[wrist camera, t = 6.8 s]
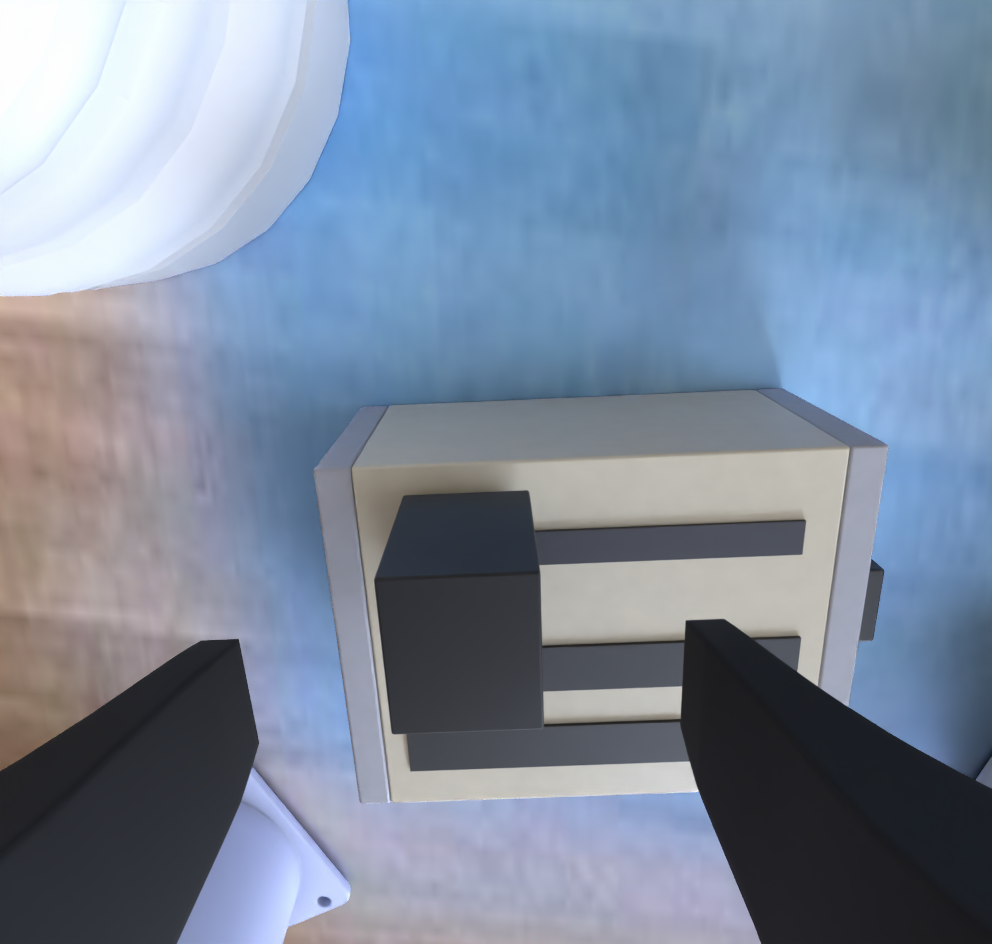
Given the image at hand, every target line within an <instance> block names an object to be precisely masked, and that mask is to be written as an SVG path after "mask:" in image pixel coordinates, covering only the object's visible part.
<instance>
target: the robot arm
mask: <svg viewBox="0 0 992 944" xmlns="http://www.w3.org/2000/svg"><path fill="white" fill-rule="evenodd" d="M680 727H681V731H682V735H683V739H684V742H685V746H686V750H687V754H688V757H689V761H690V764H691V768H692V771H693V775H694V778H695V782H696V785H697V788H698V790H699V793H700V795H701V798H702V800H703V803H704V805H705V808H706V810H707V813H708V815H709V817H710V820H711V822H712V825H713V827H714V830H715V832H716V834H717V837H718V839H719V842H720V844H721V846H722V849H723V851H724V854H725V856H726V858H727V861H728V863H729V866H730V868H731V870H732V873H733V875H734V878H735V880H736V882H737V885H738V887H739V890H740V892H741V894H742V897H743V899H744V902H745V904H746V906H747V909H748V911H749V914H750V916H751V918H752V921H753V923H754V926H755V928H756V931H757V933H758V936H759V939H760V941H761V944H992V788H990V787H988V786H986V785H984V784H982V783H980V782H978V781H976V780H974V779H972V778H970V777H968V776H966V775H964V774H962V773H960V772H958V771H956V770H955V769H953V768H951V767H949V766H947V765H945V764H944V763H942V762H940V761H938V760H936V759H934V758H932V757H931V756H929V755H927V754H925V753H923V752H921V751H920V750H918V749H916V748H914V747H912V746H911V745H909V744H907V743H905V742H904V741H902V740H900V739H899V738H897V737H895V736H893V735H892V734H890V733H888V732H887V731H885V730H884V729H882V728H880V727H879V726H877V725H876V724H874V723H873V722H871V721H869V720H868V719H866V718H865V717H863V716H862V715H860V714H858V713H857V712H855V711H854V710H852V709H850V708H849V707H847V706H846V705H844V704H843V703H841V702H840V701H838V700H837V699H835V698H834V697H832V696H831V695H829V694H828V693H826V692H825V691H824V690H822V689H821V688H819V687H818V686H816V685H815V684H814V683H812V682H811V681H809V680H808V679H807V678H805V677H804V676H802V675H801V674H799V673H798V672H797V671H795V670H794V669H793V668H791V667H790V666H788V665H787V664H786V663H784V662H783V661H782V660H780V659H779V658H778V657H776V656H775V655H774V654H772V653H771V652H769V651H768V650H767V649H765V648H764V647H763V646H761V645H760V644H759V643H757V642H756V641H755V640H753V639H752V638H751V637H749V636H748V635H747V634H745V633H744V632H742V631H741V630H740V629H738V628H737V627H736V626H734V625H733V624H731V623H730V622H728V621H727V620H725V619H705V620H686V623H685V642H684V661H683V680H682V699H681V718H680ZM258 745H259V740H258V735H257V730H256V725H255V720H254V715H253V710H252V705H251V700H250V694H249V689H248V684H247V679H246V674H245V669H244V664H243V659H242V654H241V649H240V644H239V639H231V640H207V641H200V642H198V643H196V644H195V645H193V646H191V647H189V648H188V649H186V650H185V651H183V652H181V653H180V654H178V655H177V656H175V657H174V658H172V659H171V660H169V661H168V662H166V663H165V664H163V665H162V666H160V667H159V668H157V669H156V670H155V671H153V672H152V673H150V674H149V675H147V676H146V677H144V678H143V679H141V680H140V681H139V682H137V683H136V684H134V685H133V686H131V687H130V688H128V689H127V690H125V691H124V692H123V693H121V694H120V695H118V696H117V697H115V698H114V699H112V700H111V701H109V702H108V703H106V704H105V705H104V706H102V707H101V708H99V709H98V710H96V711H95V712H93V713H92V714H90V715H89V716H87V717H86V718H84V719H83V720H81V721H80V722H78V723H76V724H75V725H73V726H72V727H70V728H69V729H67V730H65V731H64V732H62V733H61V734H59V735H58V736H56V737H54V738H53V739H51V740H50V741H48V742H47V743H45V744H43V745H42V746H40V747H39V748H37V749H36V750H34V751H32V752H31V753H29V754H28V755H26V756H25V757H23V758H21V759H20V760H18V761H17V762H15V763H13V764H12V765H10V766H8V767H7V768H5V769H3V770H2V771H0V944H283V941H284V937H285V934H286V931H287V927H290V926H292V925H294V924H297V923H299V922H302V921H304V920H306V919H309V918H311V917H314V916H316V915H318V914H321V913H323V912H326V911H328V910H330V909H333V908H335V907H338V906H340V905H342V904H344V903H346V902H347V901H348V899H349V896H350V892H351V886H350V884H349V883H348V882H347V880H346V879H345V878H344V877H343V876H342V874H341V873H340V872H339V871H338V869H337V868H336V867H335V866H334V865H333V863H332V862H331V861H330V860H329V859H328V857H327V856H326V855H325V854H324V853H323V851H322V850H321V849H320V848H319V847H318V845H317V844H316V843H315V842H314V841H313V839H312V838H311V837H310V836H309V834H308V833H307V832H306V831H305V830H304V828H303V827H302V826H301V825H300V824H299V822H298V821H297V820H296V819H295V818H294V816H293V815H292V814H291V813H290V812H289V810H288V809H287V808H286V807H285V806H284V804H283V803H282V802H281V801H280V799H279V798H278V797H277V796H276V795H275V793H274V792H273V791H272V790H271V789H270V787H269V786H268V785H267V784H266V783H265V781H264V780H263V779H262V778H261V777H260V775H259V774H258V773H257V772H256V770H255V769H254V768H253V767H252V765H253V762H254V758H255V755H256V751H257V748H258Z"/></svg>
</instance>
